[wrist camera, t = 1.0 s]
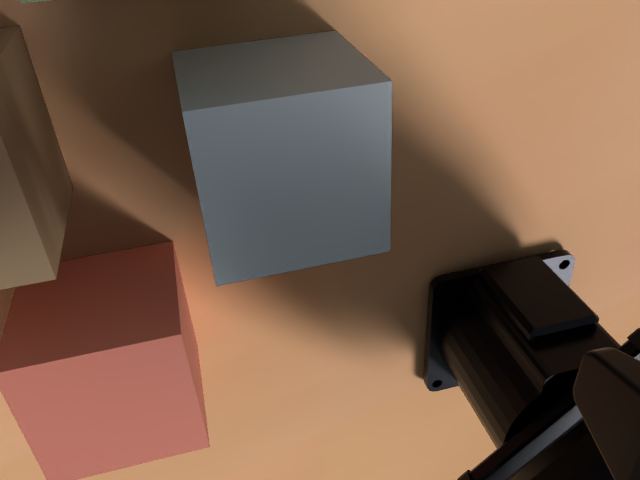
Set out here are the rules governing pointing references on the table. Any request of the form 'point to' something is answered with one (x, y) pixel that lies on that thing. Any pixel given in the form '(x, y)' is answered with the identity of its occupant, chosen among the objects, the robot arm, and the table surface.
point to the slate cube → (288, 152)
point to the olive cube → (31, 1)
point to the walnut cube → (28, 172)
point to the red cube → (105, 364)
